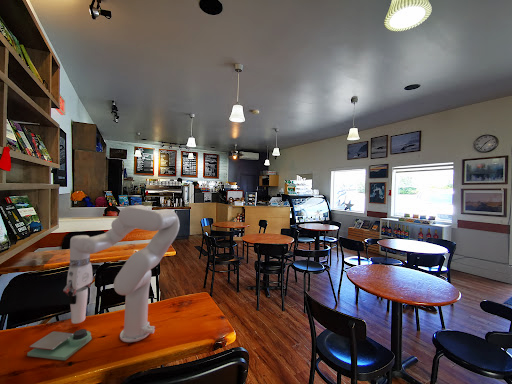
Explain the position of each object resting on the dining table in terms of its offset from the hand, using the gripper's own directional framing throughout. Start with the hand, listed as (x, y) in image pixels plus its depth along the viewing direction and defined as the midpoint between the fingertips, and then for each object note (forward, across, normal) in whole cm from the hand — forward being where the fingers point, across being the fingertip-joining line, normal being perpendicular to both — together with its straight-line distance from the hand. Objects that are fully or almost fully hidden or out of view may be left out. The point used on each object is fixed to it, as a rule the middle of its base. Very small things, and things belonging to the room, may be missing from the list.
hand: (79, 299), depth 110 cm
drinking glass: (+10, 0, 0) cm, 10 cm away
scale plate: (+10, -14, -1) cm, 17 cm away
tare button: (+11, -9, -9) cm, 17 cm away
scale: (+13, -13, -4) cm, 19 cm away
